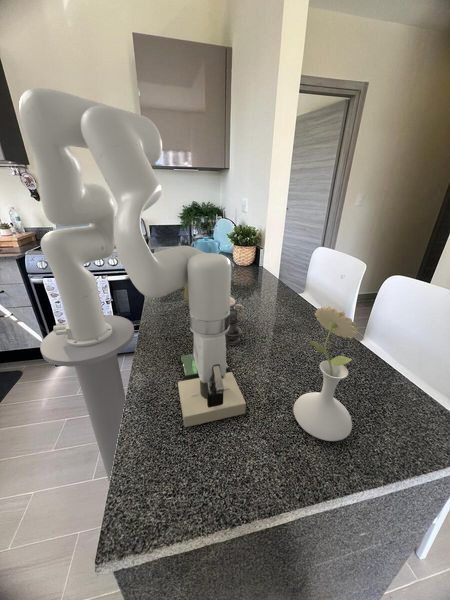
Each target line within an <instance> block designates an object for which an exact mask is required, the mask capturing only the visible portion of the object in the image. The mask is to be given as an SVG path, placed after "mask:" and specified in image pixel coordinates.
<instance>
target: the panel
mask: <svg viewBox="0 0 450 600" xmlns="http://www.w3.org/2000/svg"><path fill="white" fill-rule="evenodd" d="M222 382H223V386H224V392H223V404H222V405H219V406H215V407H210V408H208V406H207V399H205V398H203V397H202V396H201V394H200V378H196V379H191V380H185V379H184V380H180V381H177V387H178V395H179V401H180V408H181V414H182V420H183V427H184V428H188V427H193V426H197V425H201V424H205V423H206V424H207V423H209V422H215V421H217V420H223V419H228V418H231V417H235V416H240V415H245V414H246V408H247V407H246V405H247V403H246V400H245V398H244V396H243V394H242V392H241V389H240V387H239V385H238V383H237V381H236V378H235V376H234V373H233V372H232V371H230V372H229V371H228V373H226V375H225V378H224V379H222Z"/></svg>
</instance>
